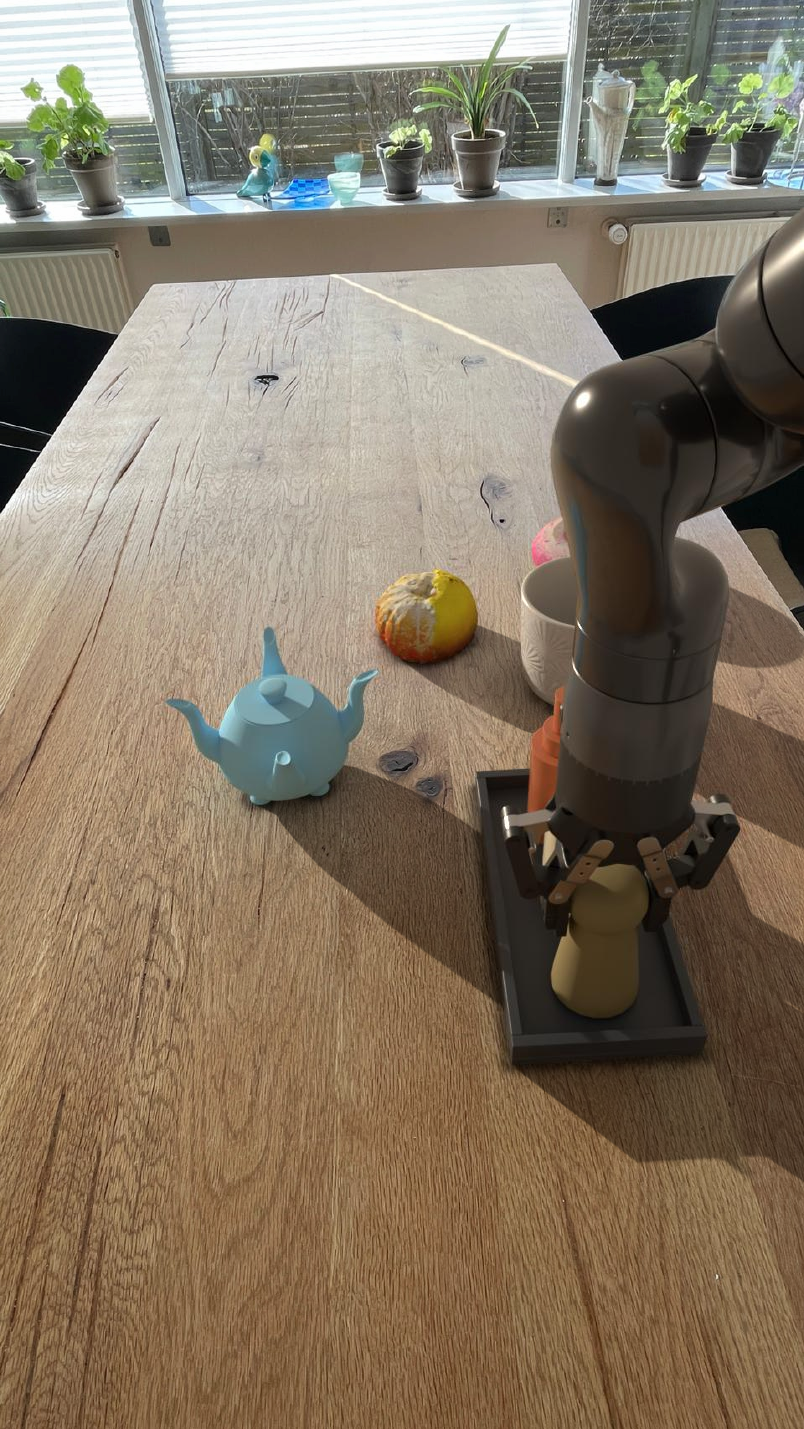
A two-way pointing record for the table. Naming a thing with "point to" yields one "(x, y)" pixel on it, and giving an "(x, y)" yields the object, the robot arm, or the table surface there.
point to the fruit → (426, 617)
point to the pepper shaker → (602, 943)
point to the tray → (528, 951)
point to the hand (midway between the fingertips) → (603, 922)
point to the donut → (550, 543)
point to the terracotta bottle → (545, 759)
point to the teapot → (279, 732)
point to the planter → (548, 625)
